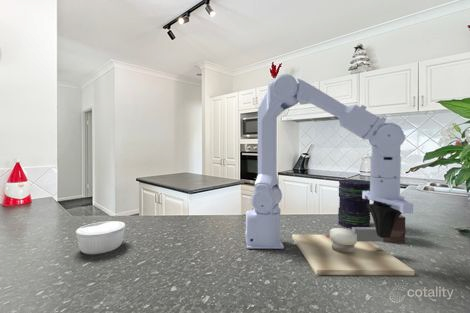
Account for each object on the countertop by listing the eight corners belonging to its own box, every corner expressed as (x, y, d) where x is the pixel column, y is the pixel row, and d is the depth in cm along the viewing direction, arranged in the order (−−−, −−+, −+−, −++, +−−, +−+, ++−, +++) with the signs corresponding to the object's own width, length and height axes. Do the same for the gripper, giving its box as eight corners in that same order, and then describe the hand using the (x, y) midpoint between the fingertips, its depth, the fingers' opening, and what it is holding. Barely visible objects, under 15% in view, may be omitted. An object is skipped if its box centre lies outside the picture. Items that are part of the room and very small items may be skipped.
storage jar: (344, 219, 87) (345, 179, 86) (374, 225, 79) (375, 181, 79) (332, 224, 80) (333, 181, 79) (363, 232, 73) (365, 184, 72)
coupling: (336, 245, 54) (336, 232, 54) (326, 235, 60) (326, 224, 60) (389, 245, 55) (389, 232, 54) (374, 235, 61) (374, 224, 60)
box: (405, 243, 64) (406, 217, 64) (381, 242, 65) (382, 215, 65) (395, 235, 70) (395, 211, 70) (373, 234, 71) (373, 210, 71)
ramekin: (107, 236, 68) (107, 218, 68) (135, 243, 63) (135, 224, 63) (65, 251, 58) (65, 230, 58) (94, 261, 53) (94, 237, 53)
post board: (316, 274, 48) (316, 260, 47) (292, 237, 68) (292, 227, 67) (414, 275, 48) (414, 260, 48) (361, 238, 68) (361, 228, 68)
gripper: (429, 181, 45) (427, 250, 46) (382, 173, 60) (381, 226, 60) (393, 181, 45) (391, 250, 46) (354, 173, 60) (353, 226, 60)
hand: (383, 236), depth 53 cm, fingers closed
